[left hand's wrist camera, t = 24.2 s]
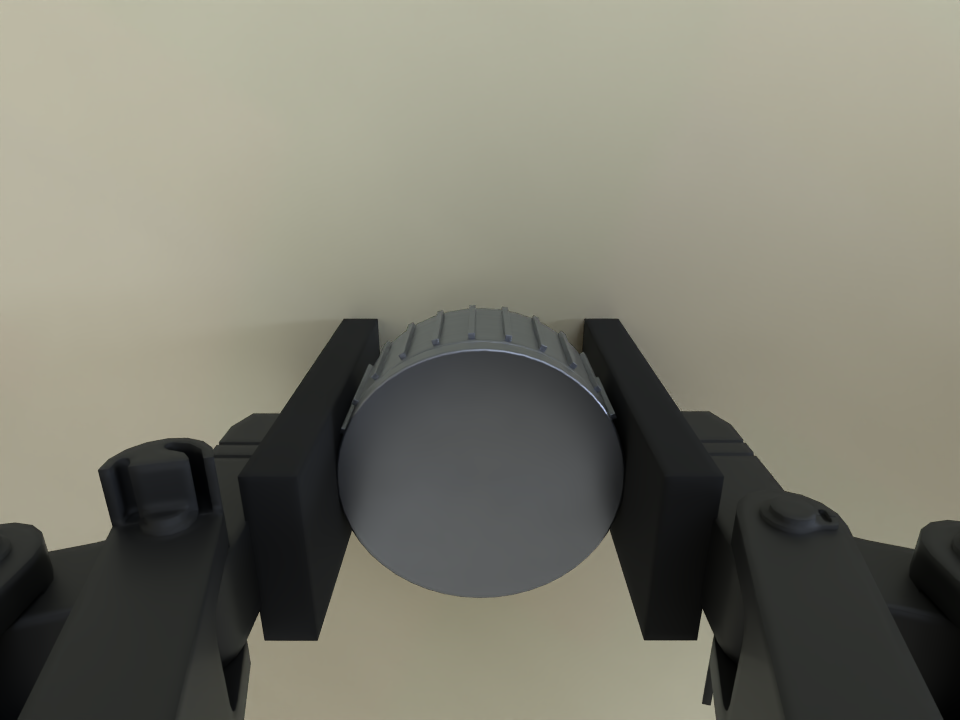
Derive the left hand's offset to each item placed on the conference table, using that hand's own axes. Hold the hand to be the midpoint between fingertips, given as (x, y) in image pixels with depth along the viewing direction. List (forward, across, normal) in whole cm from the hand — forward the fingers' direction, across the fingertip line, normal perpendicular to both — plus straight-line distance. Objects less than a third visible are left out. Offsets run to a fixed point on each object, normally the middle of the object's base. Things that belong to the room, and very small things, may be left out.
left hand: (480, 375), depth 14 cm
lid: (-4, 0, 0) cm, 4 cm away
